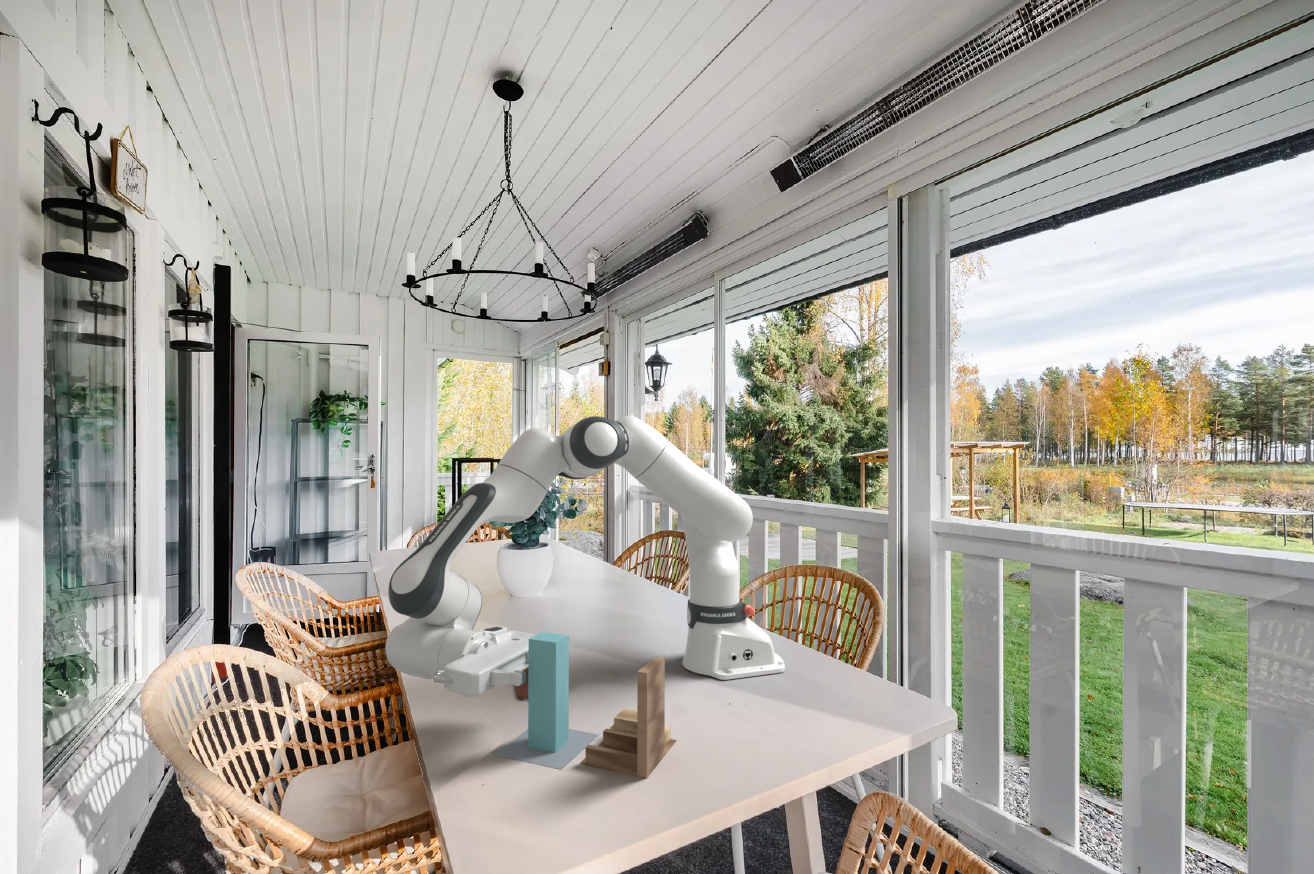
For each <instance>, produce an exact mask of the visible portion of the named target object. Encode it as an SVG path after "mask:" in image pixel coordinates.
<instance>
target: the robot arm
mask: <svg viewBox="0 0 1314 874" xmlns="http://www.w3.org/2000/svg"><path fill="white" fill-rule="evenodd" d="M613 464H615V465H618V466H619V467H621V468H623V469H624V470H625V471H627V472H628V473H629V474H630V475H631V476H632V477H633V478H634V479H635V480H636V481H638V482H639V483H640V485H642V486H643V487H645V489H647V490H648V491H649V492H650V493H652V494H653V495H654V496H655V497H656V498H657V499H659V500H660V502H662V503H664V504H665V505H667V506H668V507H669V508H671V509H672V510H674V511H675V512H676V513H677V514H678V515H680V517H681V520H682V524H683V531H684V538H685V544H686V551H687V557H688V565H689V568H688V570H689V598H688V600H687V606H686V623H687V626H688V628H687V629H688V632H687V638H686V639H687V641H686V646H685V650H684V655H683V658H682V662H681V665H682V667H684V668H685V669H686V670H688V671H689V672H692V673H696V674H700V675H705V676H710V677H713V678H715V679H718V680H722V681H725V680H733V679H740V678H742V679H743V678H748V677H756V676H763V675H771V674H772V675H773V674H779V673H783V672H784V671H786V665H785V661H784V660H783V658H782V657H781V656H780V655H779V654H778V653H776V652H775V648H774V644H773V641H772V639H771V637H770V635H769V634H768V633H767V632H766V631H765V630H763V628H761V627H760V626H759V625H758V624H756V623H755V622H754V621H752V619H750V618H748V616H749V617H751V616H753V615H754V614H755V608H753V606H751V605H750V604H747V603H746V602H744V601H743V600H740V565H739V562H738V560H737V557H736V555H735V550H734V545H733V543H734V542H738V541H740V540H742V539H744V538H745V537H746V536H747V535H748V534H749V532H751V529H752V526H753V522H754V516H753V511H752V509H751V506H750V505H749V504H748V503H747V501H745V500H744V499H743V498H742V497H740V496H739V495H738V494H737V493H735V492H734V491H733V490H732V489H730V488H729V487H728V486H727V485H725V484H723V483H722V482H721V481H720V480H719V479H717V478H716V477H714V476H713V475H711V474H710V473H709V472H708V471H706V470H704V469H703V468H702V467H700V466H699V465H698V464H696V463H695V462H694V461H692V459H690V458H689V457H688V456H687V455H685V454H684V452H682V451H681V450H680V449H679V448H678V447H677V446H676V445H675V444H673V443H672V442H671V441H670V440H669V439H668V438H666V437H665V436H664V435H663V434H662V433H660V432H659V431H658V430H657V429H655V428H654V427H652V426H651V425H650V424H649V423H646V422H645V421H643V420H642V419H640V418H639V417H636V416H634V415H623V416H622V417H619V418H617V419H616V420H611V419H609V418H606V417H603V416H594V415H593V416H589V417H588V416H587V417H585V418H582V419H580V420H579V421H577V422H576V423H574V424H573V425H571V426H570V427H568V428H567V429H566V430H565V431H564V432H563V433H562V434H560V435H556V434H553V432H550V431H548V430H546V429H542V428H537V427H536V428H529V429H527V430H525V431H523V432H522V433H521V434H520V436H519V437H517V438H516V440H515V441H514V442H513V443H512V445H510V447H509V448H508V449H507V451H505V453H504V455H503V456H502V457H501V459H500V460H499V462H498V464H497V465H496V467H495V469H493V471H492V473H491V474H490V475H489V476H488V477H487V478H486V479H485V480H483V481H482V482H478V483H476V484H474V485H472V486H470V487H469V488H468V489H467V490H466V491H464V493H463V494H462V495H461V496H460V497H459V498H458V499H457V500H456V502H455V503H453V505H452V506H451V508H450V509H449V510H448V511H447V512H446V514H444V516H443V517H442V518H441V519H440V521H439V522H438V523H437V524H436V526H435V527H434V528H433V529H432V531H431V532H430V533H429V534H428V535H427V537H426V538H425V539H424V540H423V541H422V543H421V544H420V545H419V546H418V547H417V548H416V549H415V551H413V552H412V553H411V554H410V555H408V556H407V557H406V559H404V560H403V561H402V562H401V563H400V564H399V565H398V566H397V567H396V569H395V570H394V571H393V573H392V575H391V577H390V580H389V582H388V583H389V584H388V601H389V603H390V606H391V607H392V609H393V611H395V612H396V613H398V614H401V615H403V616H405V617H409V618H408V619H406V620H405V621H404V622H402V623H400V624H398V625H396V626H395V627H393V628H392V629H391V631H390V632H389V634H388V635H387V638H386V642H385V656H386V659H387V661H388V663H389V664H390V666H391V667H392V668H394V669H395V670H396V671H399V672H401V673H403V674H405V675H409V676H412V677H417V678H421V679H425V680H433V682H434V683H437V684H441V685H443V687H444V688H445V690H446V691H449V692H452V693H454V694H458V695H462V696H467V697H479V696H481V695H483V694H485V693H486V692H488V691H489V690H491V689H494V688H495V687H504V686H505V687H506V686H515V687H516V686H520V685H521V684H523V683H524V682H525V681H526V678H525V677H526V673H525V672H524V671H523V670H524V669H526V668H528V667H529V638H531V637H533V636H535V635H536V634H534V633H530V632H525V631H519V630H508V627H506V626H500V625H499V626H492V627H488V628H483V629H482V628H481V629H475V628H474V627H475V625H476V623H477V621H478V619H479V615H480V613H481V610H482V607H483V595H482V592H481V590H480V588H479V587H478V586H477V585H476V584H475V583H474V582H471V581H470V580H468V579H467V578H465V577H463V576H462V575H460V574H458V573H456V572H455V571H453V570H451V569H450V566H451V563H452V561H453V560H454V558H455V557H456V556H457V555H458V554H459V552H460V551H461V549H462V548H463V547H464V545H465V544H466V543H467V542H468V540H469V539H470V538H471V536H472V535H473V534H474V532H475V531H476V530H477V529H478V528H480V527H481V526H482V525H485V524H486V523H490V522H491V523H492V522H500V523H505V524H510V523H511V524H513V523H519V522H522V521H525V520H527V519H529V518H530V517H531V516H532V515H534V513H536V511H537V510H538V508H539V507H540V505H541V504H542V502H543V501H544V498H545V497H546V494H547V493H548V491H549V490H550V488H551V486H552V484H553V482H554V480H555V479H556V478H557V477H558V476H559V477H563V478H566V479H570V480H577V481H578V480H584V479H586V478H588V477H592V476H594V475H597V474H599V473H600V472H602V471H603V470H604V469H605V468H607V467H610V466H611V465H613Z"/></svg>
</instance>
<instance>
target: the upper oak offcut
mask: <svg viewBox="0 0 1314 874" xmlns="http://www.w3.org/2000/svg"><path fill="white" fill-rule="evenodd" d="M613 725H614V730H616V731H621V732H627V733H632V734H637V709H631V708H626V707H624V708H623V709H622V710H621V711H620V712H619V713H618V714H617V715H616V716H614V718H613Z"/></svg>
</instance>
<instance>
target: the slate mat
mask: <svg viewBox="0 0 1314 874" xmlns="http://www.w3.org/2000/svg"><path fill="white" fill-rule="evenodd" d="M599 736H600V734H598V733H592V732H587V731H583V730H577V729H571V728H569V741H568V742H567V743H566V744H565V745H564V746H563V747H562V748H560V749H559V750H558V751H557V752H556V753H555V752H550V751H545V750H540V749H536V748H531V747H528V729H526V730H525V731H523V732H521V734H520V735H518V736H517V737H516V738H514V739H513V740H511V741H510V742H509V743H507V744H506V745H504V746H503V747H502V748H500V749H499V750H498V751H497V752H495V753H494V754H493V755H494V756H498V757H502V758H507V759H512V760H516V761H520V762H525V763H530V764H533V765H538V766H543V767H547V768H552V769H556V770H559V771H563V769H564V768H566V767H567V766H568V765H569V764H570V763H571V762H572V761H573V760H574V759H575V758H576V757H577V756H578V755H579V754H580V753H581V752H583V750H586V747H587V746H588V745H591V743H592V742H594V740H595V739H596V738H598V737H599Z"/></svg>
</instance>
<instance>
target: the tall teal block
mask: <svg viewBox="0 0 1314 874" xmlns="http://www.w3.org/2000/svg"><path fill="white" fill-rule="evenodd" d="M569 664H570V635H569V634H562V633H553V632H546V631H541V632H540V633H537V634H535V636H533V637H531V638H529V671H528V700H527V701H528V706H527V708H528V711H527V712H528V714H527V715H528V717H527V718H528V719H527V722H528V723H527V726H528V727H527V730H528V747H531V748H536V749H540V750H545V751H550V752H555V753H556V752H557V751H558V750H559V749H560V748H562V747H563V746H564V745H565V744H566V743H567V742H568V741H569V729H570V727H569V723H570V721H569V720H570V719H569V717H570V716H569V712H570V710H569V709H570V707H569V706H570V702H569V701H570V699H569V697H570V693H569V691H570V688H569V687H570V670H569V669H570V665H569Z"/></svg>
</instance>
